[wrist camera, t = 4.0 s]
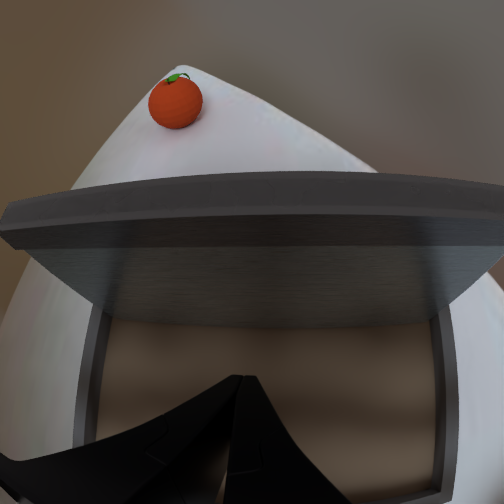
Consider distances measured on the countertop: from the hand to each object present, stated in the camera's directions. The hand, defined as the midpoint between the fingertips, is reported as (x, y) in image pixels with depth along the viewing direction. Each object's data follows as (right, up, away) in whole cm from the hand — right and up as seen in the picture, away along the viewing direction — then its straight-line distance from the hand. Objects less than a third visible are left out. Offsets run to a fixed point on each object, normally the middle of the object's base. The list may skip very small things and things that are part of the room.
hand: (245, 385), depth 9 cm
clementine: (-9, +22, +27) cm, 36 cm away
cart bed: (+1, -7, +9) cm, 11 cm away
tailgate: (+1, 0, +10) cm, 10 cm away
